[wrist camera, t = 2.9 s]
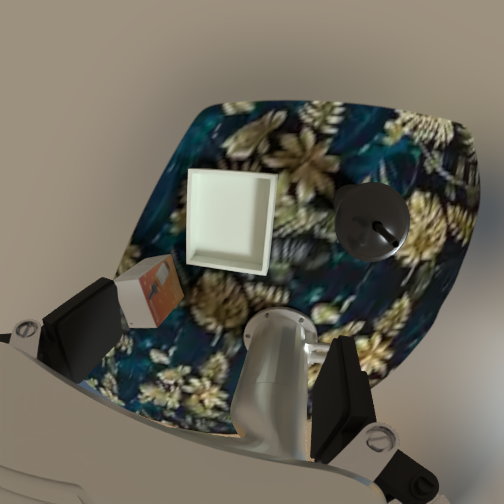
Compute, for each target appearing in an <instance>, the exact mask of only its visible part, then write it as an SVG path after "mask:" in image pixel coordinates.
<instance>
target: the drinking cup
mask: <svg viewBox="0 0 504 504" xmlns="http://www.w3.org/2000/svg"><path fill="white" fill-rule="evenodd" d="M333 204H334V210H335V219H334V226H335V232H336V236H337V238H338V241H339V243H340V244H341V246H342V247H343V249H344V250H345V251H346V252H347V253H348V254H350V255H351V256H353V257H354V258H356V259H359V260H362V261H367V262H375V261H380V260H384V259H386V258H388V257H390V256H392V255H393V254H394V253H396V252H397V251H398V250H399V249H400V247H401V246H402V245H403V243H404V242H405V240H406V238H407V235H408V232H409V227H410V215H409V210H408V207H407V204H406V202H405V201H404V199H403V197H402V196H401V195H400V194H399V193H398V192H397V191H396V190H395V189H393V188H392V187H390V186H388V185H386V184H383V183H378V182H368V183H363V184H360V185H344V186H342V187H340V188H339V189H338V190H337V191H336V193H335V195H334V198H333Z"/></svg>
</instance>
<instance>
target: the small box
mask: <svg viewBox="0 0 504 504" xmlns="http://www.w3.org/2000/svg"><path fill="white" fill-rule="evenodd" d="M113 281H114V282H115V285H116V286H117V291H118V301H119V303H120V306H121V308H122V310H123V313H124V315H125V318H126V320H127V323H128V326H129V328H157V327H158V326H159V325H160V324H161V323H162V321H163V320H164V319H165V318H166V317H167V316H168V314H169V313H170V312H171V311H172V310H173V309H174V307H175V306H176V305H177V304H178V303H179V302H180V301H181V299H182V298H183V297H184V294H183V291H182V289H181V286H180V283H179V279H178V276H177V273H176V269H175V266H174V262H173V258H172V255H171V254H168V255H162V256H156V257H150V258H145V259H144V260H142V261H141V262H139V263H138V264H136V265H135V266H133V267H132V268H130V269H129V270H127V271H126V272H124V273H123V274H121V275H120V276H119V277H117V278H116V279H114V280H113Z"/></svg>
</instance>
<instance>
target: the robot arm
mask: <svg viewBox="0 0 504 504" xmlns="http://www.w3.org/2000/svg"><path fill="white" fill-rule="evenodd" d="M267 313H268V314H267ZM42 320H43V324H44V325H43V326H42V327H41V325H40V323H39V322H38V321H36V320H33V319H27V320H23V321H20V322H19V323H17V324H16V325H15V327H14V329H13V331H12V333H10V334H0V504H450V503H449V502H448V500H447V499H446V497H445V496H444V495H442V496H439V494H438V491H439V483H438V480H437V478H436V476H435V475H434V474H433V473H431V472H430V471H428V470H427V469H425V468H424V467H423V466H421V465H420V464H418V463H417V462H416V461H414V460H413V459H411V458H410V457H409V456H407V455H406V454H404V453H403V452H402V451H400V450H399V449H398V447H399V445H400V439H399V435H398V433H397V432H396V431H395V429H393V428H392V427H391V426H389V425H387V424H385V423H380V422H378V423H377V421H376V415H375V410H374V404H373V399H372V395H371V389H370V384H369V380H368V375H367V373H366V372H365V371H361V368H360V363H359V359H358V354H357V349H356V345H355V341H354V338H353V337H348V336H342V335H340V336H339V337H338V339H337V338H334V339H333V341H332V343H331V346H330V343H323V342H322V343H319V342H317V340H318V336H317V330H316V327H315V325H314V324H313V322H312V321H311V320H310V318H309V317H307V316H306V315H305V314H304V313H302V312H300V311H298V310H295V309H292V308H288V307H271V308H267V309H264V310H261V311H259V312H258V313H256V314H255V315H254V316H253V317H251V318H250V320H249V321H248V323H247V325H246V327H245V330H244V343H245V346H246V348H247V350H248V352H247V356H246V359H245V362H244V365H243V369H242V372H241V375H240V378H239V381H238V385H237V388H236V391H235V394H234V397H233V400H232V404H231V412H230V413H231V419H232V422H233V425H234V427H235V429H236V431H237V433H238V434H239V436H240V437H241V438H234V437H224V436H217V435H212V434H206V433H201V432H196V431H191V430H186V429H180V428H169V427H166V426H164V425H161V424H158V423H156V422H153V421H151V420H148V419H146V418H143V417H141V416H139V415H136V414H134V413H132V412H130V411H127V410H125V409H123V408H121V407H119V406H117V405H115V404H113V403H111V402H108V401H107V400H105V399H103V398H101V397H99V396H97V395H95V394H93V393H91V392H90V391H88V390H86V389H84V388H82V387H81V386H79V385H77V383H81V382H82V381H83V380H84V379H85V377H86V376H87V375H88V374H89V373H90V372H91V371H92V370H93V369H94V367H95V366H96V365H97V364H98V363H99V362H100V361H101V360H102V359H103V358H104V357H105V355H106V354H107V353H108V352H109V351H110V350H111V349H112V348H113V347H114V346H115V345H116V344H117V343H118V341H119V340H120V339H121V337H122V327H121V319H120V311H119V301H118V291H117V286H116V285H115V282H114V281H113V280H110V279H107V278H104V277H102V278H100V279H98V280H97V281H96V282H94V283H92V284H91V285H89V286H88V287H87V288H85V289H84V290H82V291H81V292H79V293H78V294H76V295H75V296H74V297H72V298H71V299H69V300H68V301H66V302H65V303H64V304H62V305H61V306H59V307H58V308H57V309H55V310H54V311H53V312H51V313H50V314H48V315H47V316H46V317H44V318H43V319H42ZM315 350H321V351H328V353H316V351H315ZM314 362H315V363H321V364H323V365H322V368H321V370H320V372H319V375H318V377H317V379H316V381H315V384H314V387H313V399H312V432H311V451H310V457H311V458H314V459H315V460H314V462H310V461H308V456H307V446H306V414H307V390H308V364H314Z"/></svg>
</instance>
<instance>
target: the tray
mask: <svg viewBox="0 0 504 504" xmlns="http://www.w3.org/2000/svg"><path fill="white" fill-rule="evenodd" d="M277 178H278V174H272V173H262V172H250V171H238V170H223V169H206V168H192V169H188V186H187V224H186V264H191V265H198V266H204V267H211V268H217V269H224V270H230V271H237V272H244V273H251V274H258V275H265V276H266V274H267V271H268V267H269V258H270V248H271V239H272V229H273V220H274V210H275V199H276V189H277Z"/></svg>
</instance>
